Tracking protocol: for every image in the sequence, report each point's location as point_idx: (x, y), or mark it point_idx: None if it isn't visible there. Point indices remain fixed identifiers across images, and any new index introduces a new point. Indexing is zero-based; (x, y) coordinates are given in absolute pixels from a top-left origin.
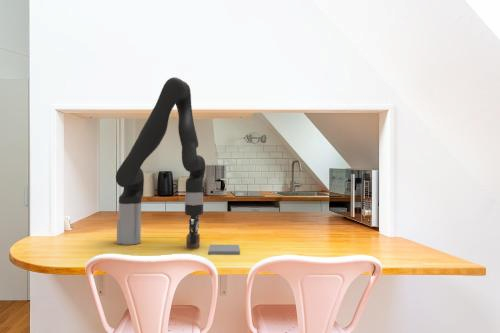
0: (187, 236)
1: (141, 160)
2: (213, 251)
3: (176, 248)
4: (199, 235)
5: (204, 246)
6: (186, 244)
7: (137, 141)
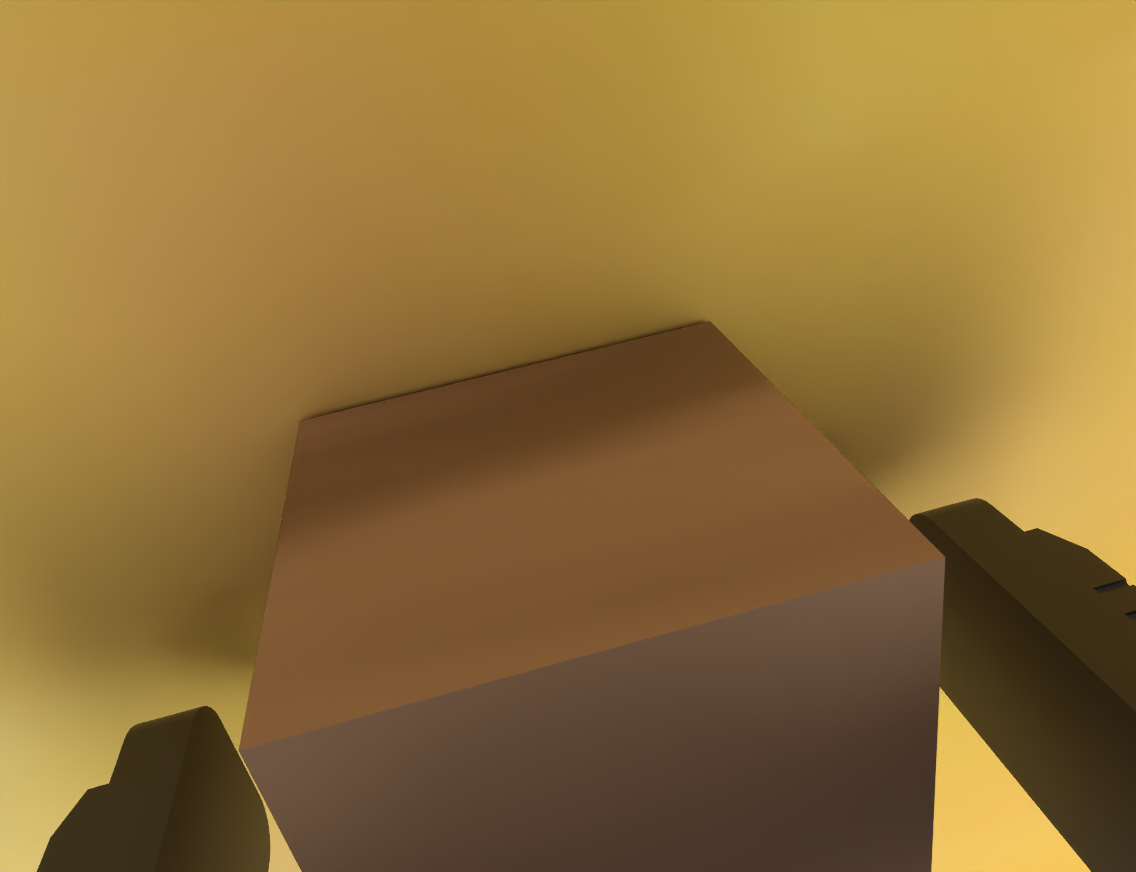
0: (264, 777)
1: None
2: None
3: (207, 38)
4: None
5: None
6: (289, 494)
7: None
